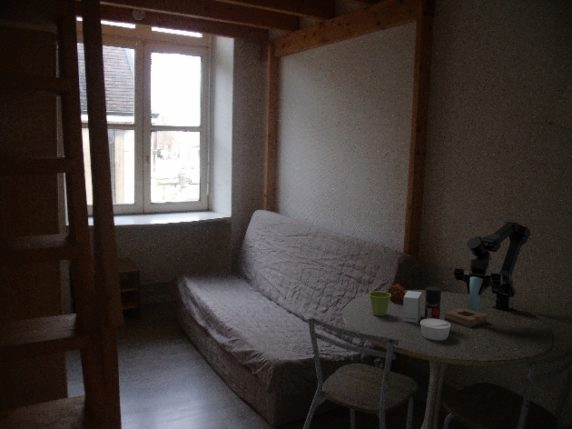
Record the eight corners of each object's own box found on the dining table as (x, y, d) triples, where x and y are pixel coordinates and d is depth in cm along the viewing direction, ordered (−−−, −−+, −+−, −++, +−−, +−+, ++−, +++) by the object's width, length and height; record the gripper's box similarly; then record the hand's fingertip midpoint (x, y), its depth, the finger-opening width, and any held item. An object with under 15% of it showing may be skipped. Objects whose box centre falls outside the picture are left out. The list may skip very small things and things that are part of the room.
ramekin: (445, 344, 191) (446, 330, 190) (415, 337, 197) (416, 324, 196) (453, 335, 201) (454, 321, 200) (424, 329, 206) (425, 316, 206)
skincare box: (406, 313, 226) (407, 290, 225) (421, 315, 223) (422, 292, 222) (401, 321, 216) (403, 296, 215) (417, 323, 214) (419, 298, 212)
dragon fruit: (398, 307, 240) (390, 303, 251) (412, 296, 240) (404, 293, 252) (387, 292, 239) (380, 289, 251) (402, 281, 240) (394, 279, 252)
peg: (471, 306, 217) (473, 276, 215) (480, 309, 214) (482, 278, 212) (466, 308, 215) (468, 277, 213) (475, 311, 212) (477, 279, 210)
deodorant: (439, 323, 214) (441, 287, 212) (438, 328, 208) (440, 291, 206) (424, 321, 216) (426, 286, 214) (423, 326, 210) (425, 289, 208)
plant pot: (365, 315, 222) (366, 295, 221) (370, 309, 231) (371, 290, 230) (387, 318, 219) (388, 298, 218) (392, 312, 228) (393, 292, 227)
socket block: (461, 314, 226) (461, 307, 226) (486, 322, 217) (487, 315, 216) (444, 319, 219) (444, 312, 218) (469, 327, 209) (470, 320, 209)
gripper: (456, 248, 220) (447, 279, 212) (503, 254, 210) (496, 286, 202) (459, 263, 227) (451, 294, 219) (505, 269, 217) (498, 301, 210)
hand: (473, 294), depth 212 cm, fingers closed on peg, 4 cm apart
